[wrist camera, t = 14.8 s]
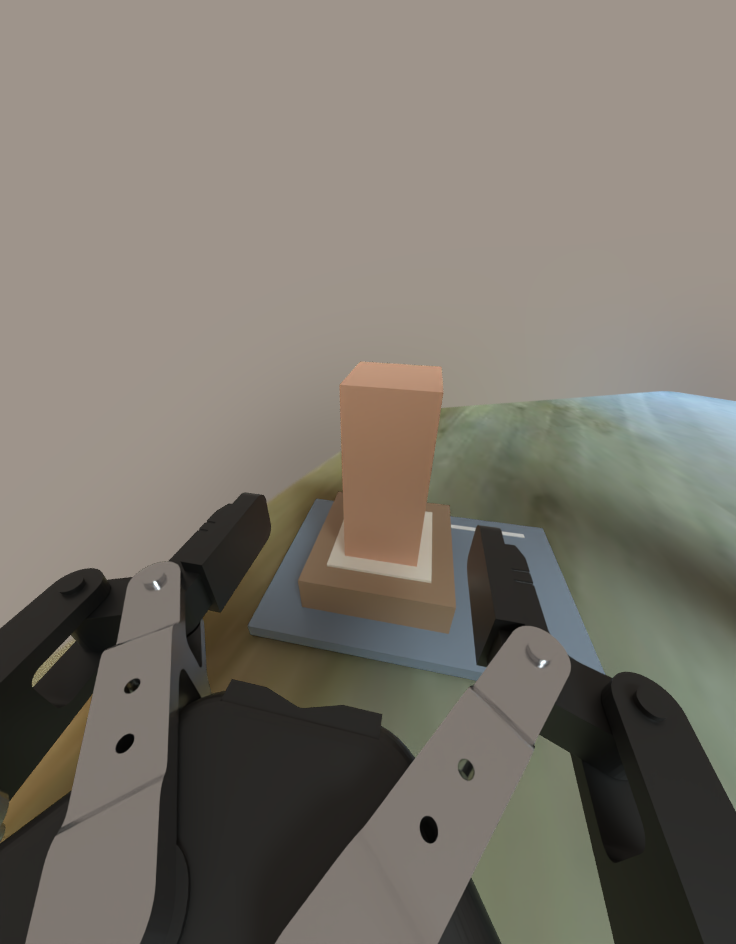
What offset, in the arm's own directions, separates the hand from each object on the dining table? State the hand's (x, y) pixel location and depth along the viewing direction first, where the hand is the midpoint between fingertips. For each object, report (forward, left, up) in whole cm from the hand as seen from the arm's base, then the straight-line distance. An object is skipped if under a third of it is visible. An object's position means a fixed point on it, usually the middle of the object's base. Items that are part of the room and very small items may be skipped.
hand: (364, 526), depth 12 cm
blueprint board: (-3, -9, -12) cm, 15 cm away
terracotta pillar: (0, -9, -8) cm, 12 cm away
